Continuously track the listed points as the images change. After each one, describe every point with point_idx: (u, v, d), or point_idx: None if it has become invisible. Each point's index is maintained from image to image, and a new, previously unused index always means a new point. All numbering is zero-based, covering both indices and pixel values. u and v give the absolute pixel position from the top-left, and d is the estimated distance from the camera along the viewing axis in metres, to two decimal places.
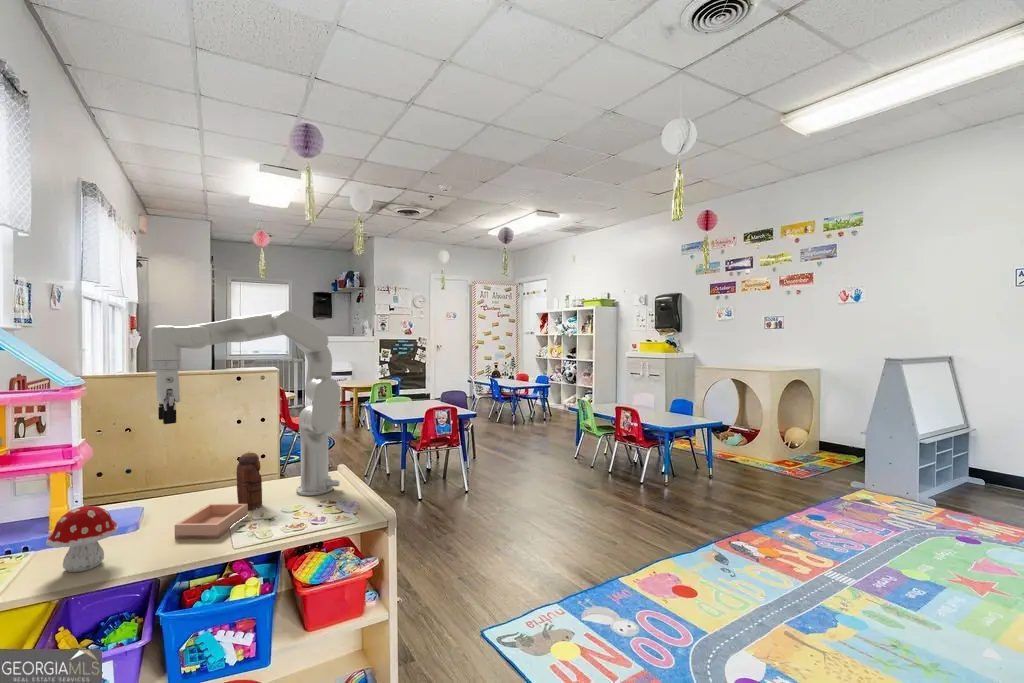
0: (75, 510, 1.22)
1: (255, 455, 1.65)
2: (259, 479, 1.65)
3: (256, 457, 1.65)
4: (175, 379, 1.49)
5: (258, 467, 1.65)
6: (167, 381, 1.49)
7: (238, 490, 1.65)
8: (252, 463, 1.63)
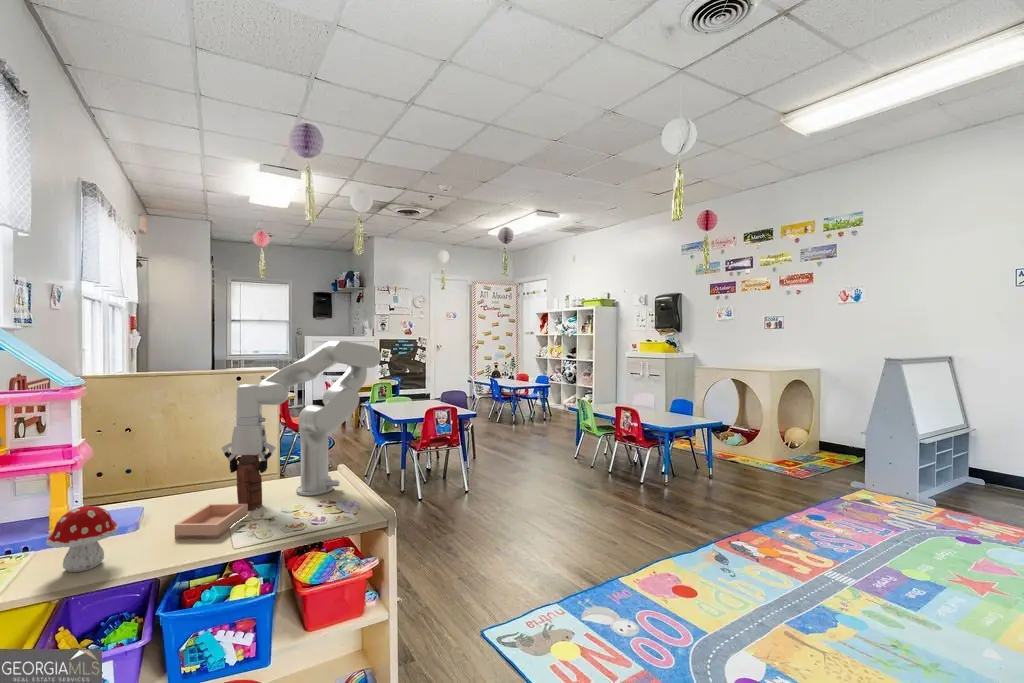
0: (75, 510, 1.22)
1: (255, 455, 1.65)
2: (259, 479, 1.65)
3: (256, 457, 1.65)
4: (265, 431, 1.68)
5: (258, 467, 1.65)
6: None
7: (238, 490, 1.65)
8: (252, 463, 1.63)
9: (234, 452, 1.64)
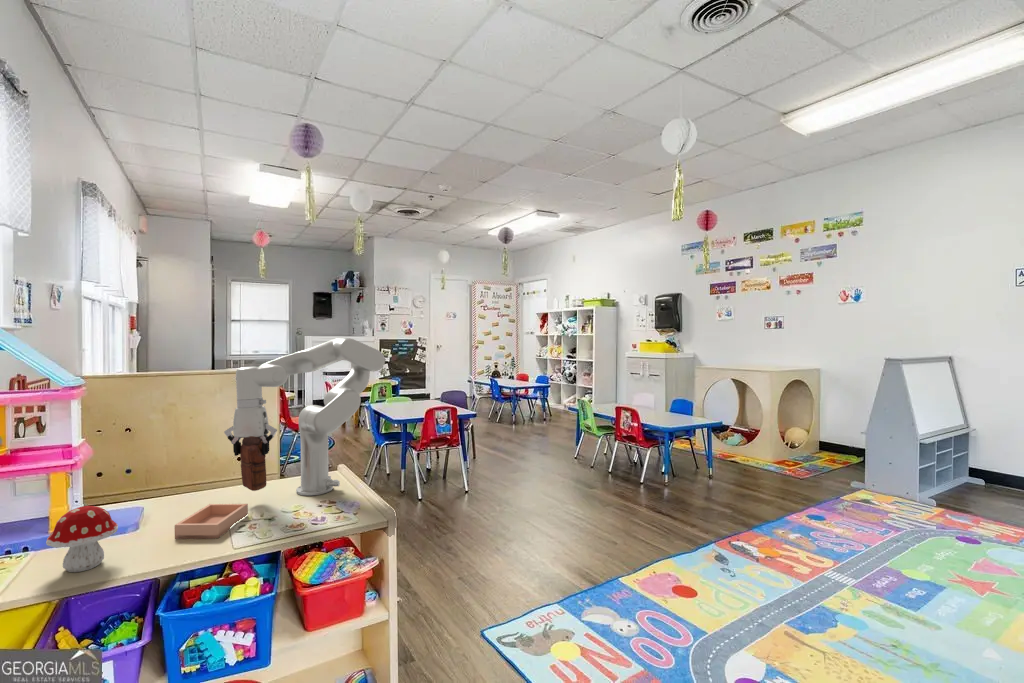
0: (75, 510, 1.22)
1: None
2: (263, 460, 1.65)
3: (259, 438, 1.65)
4: (266, 413, 1.68)
5: None
6: None
7: (242, 471, 1.66)
8: (256, 444, 1.63)
9: (236, 435, 1.64)
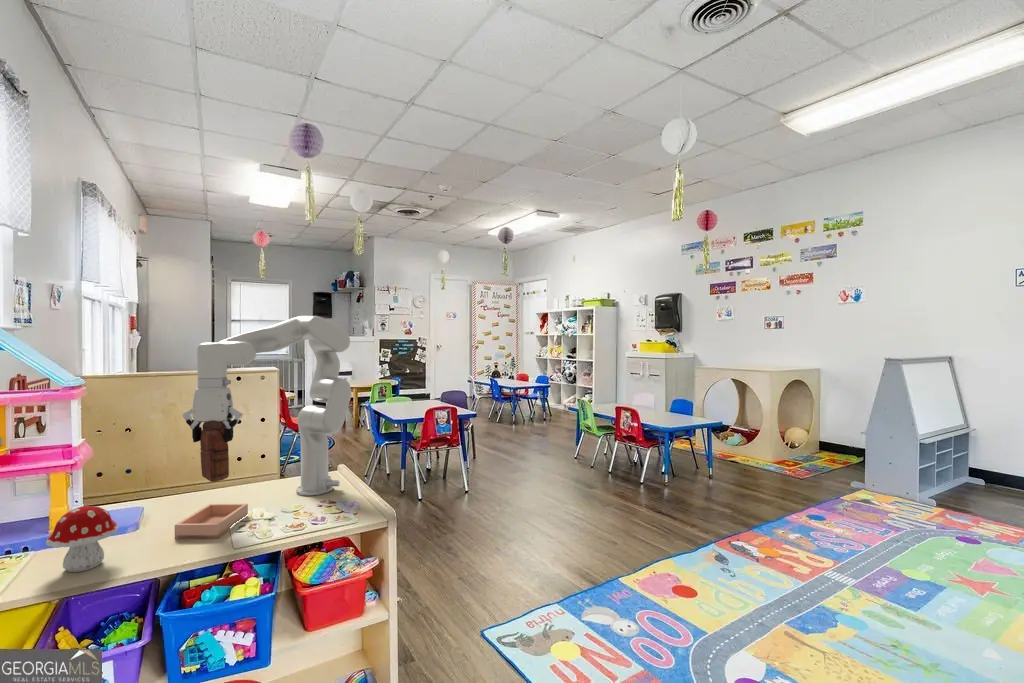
0: (75, 510, 1.22)
1: None
2: (225, 447, 1.47)
3: None
4: (231, 396, 1.49)
5: None
6: None
7: (202, 459, 1.47)
8: (217, 429, 1.45)
9: (196, 418, 1.46)
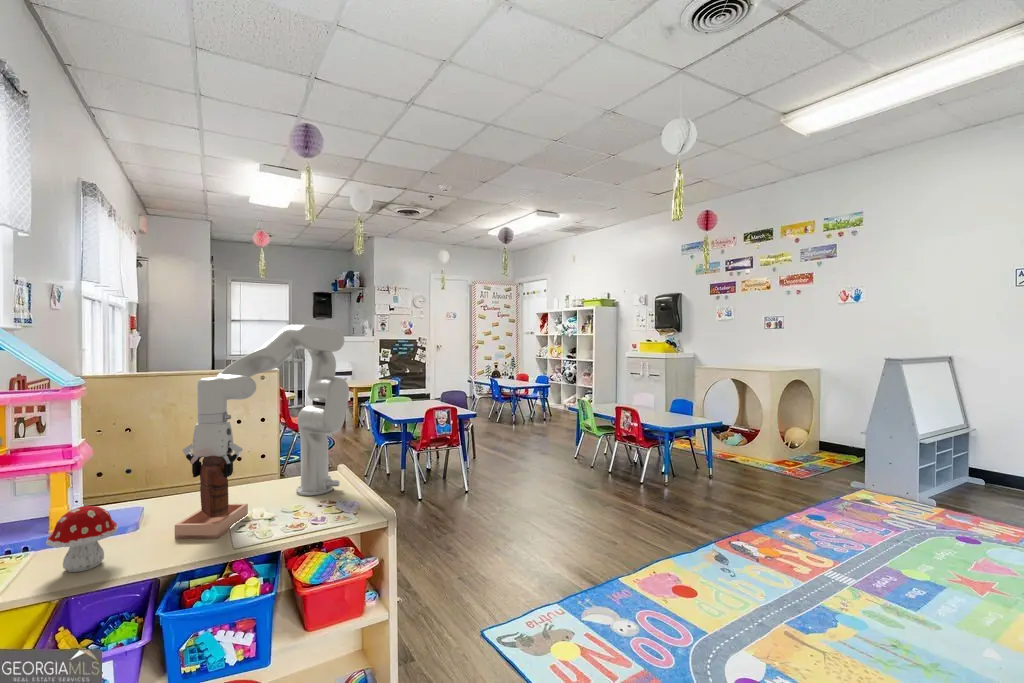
0: (75, 510, 1.22)
1: None
2: (225, 482, 1.47)
3: None
4: (231, 430, 1.50)
5: None
6: None
7: (201, 494, 1.47)
8: (217, 464, 1.45)
9: (196, 454, 1.46)
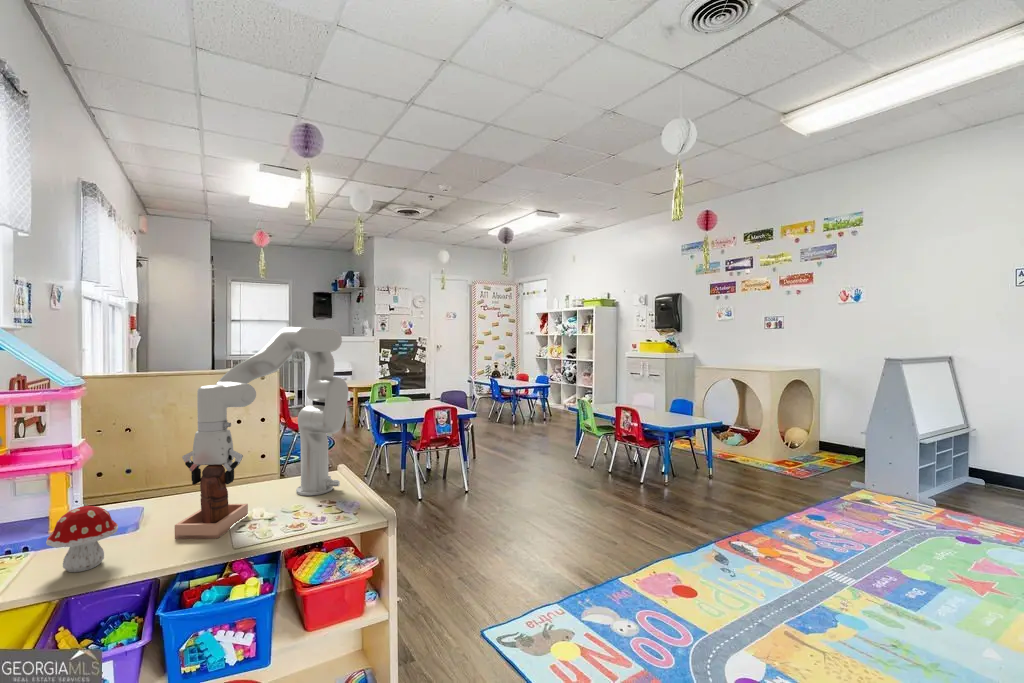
0: (75, 510, 1.22)
1: (220, 467, 1.47)
2: (224, 494, 1.47)
3: (221, 469, 1.47)
4: (231, 438, 1.50)
5: (223, 480, 1.47)
6: None
7: (202, 506, 1.48)
8: (216, 476, 1.45)
9: (196, 461, 1.46)
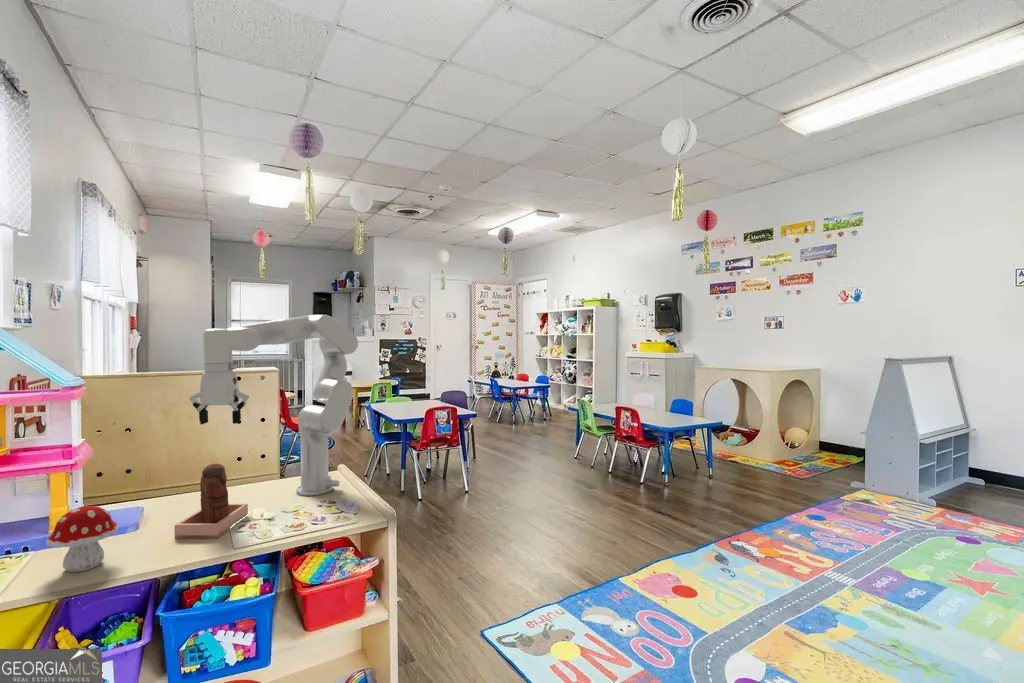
0: (75, 510, 1.22)
1: (220, 467, 1.47)
2: (224, 494, 1.47)
3: (221, 469, 1.47)
4: (237, 380, 1.55)
5: (223, 480, 1.47)
6: None
7: (202, 506, 1.48)
8: (216, 476, 1.45)
9: (203, 402, 1.51)
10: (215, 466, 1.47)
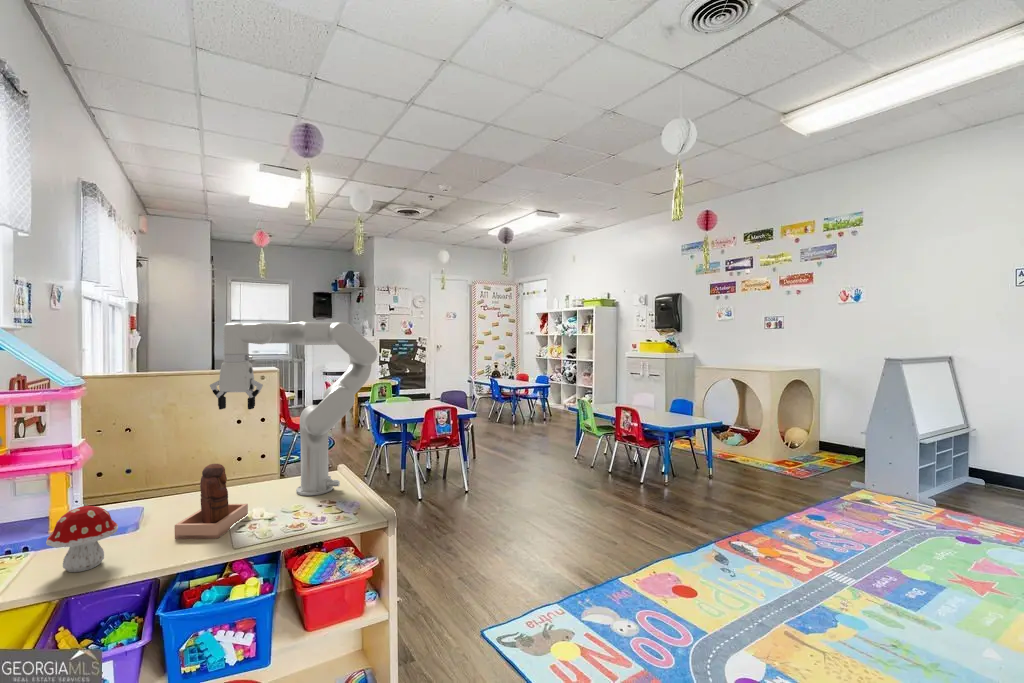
0: (75, 510, 1.22)
1: (220, 467, 1.47)
2: (224, 494, 1.47)
3: (221, 469, 1.47)
4: (252, 370, 1.71)
5: (223, 480, 1.47)
6: None
7: (202, 506, 1.48)
8: (216, 476, 1.45)
9: (222, 389, 1.67)
10: (215, 466, 1.47)
